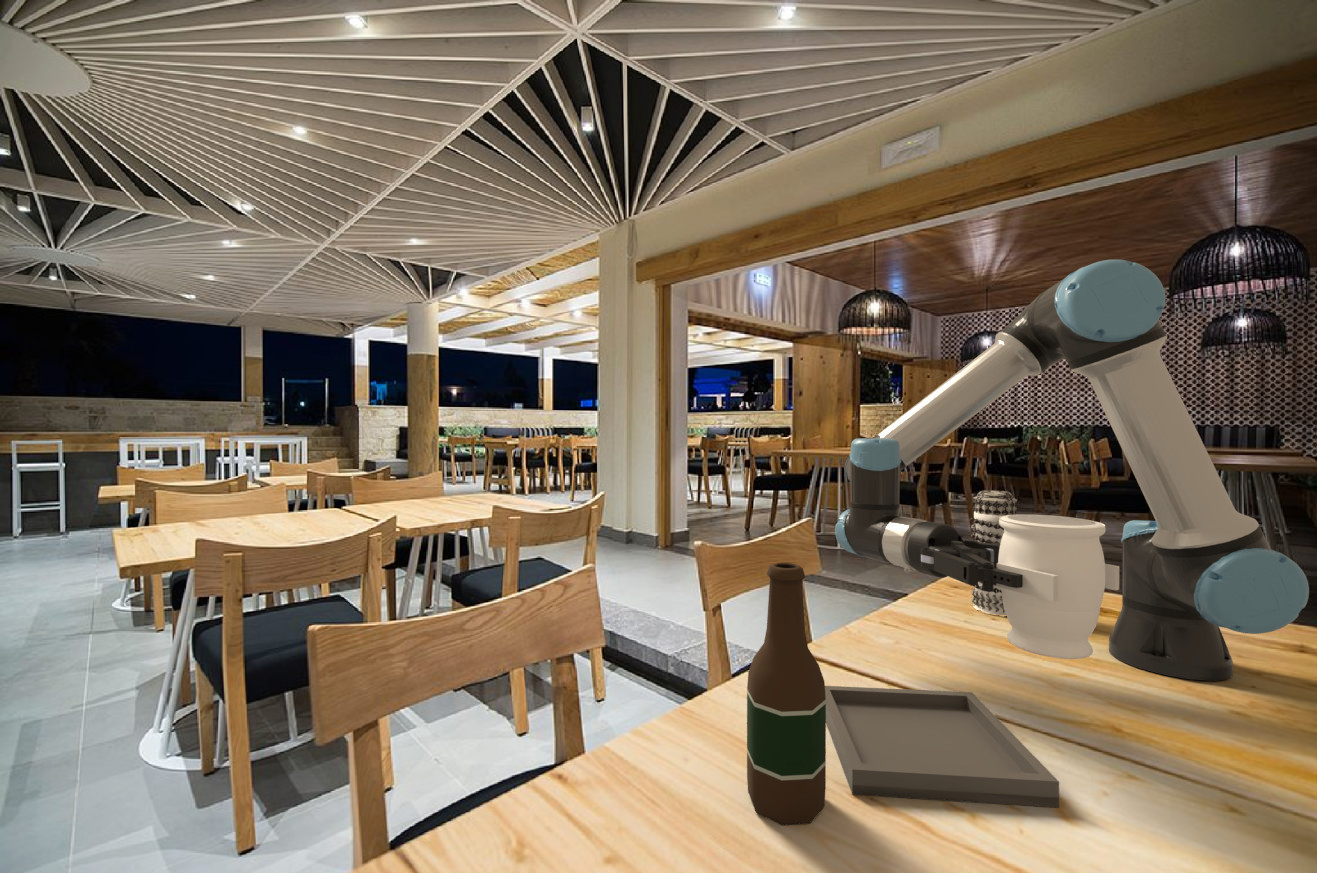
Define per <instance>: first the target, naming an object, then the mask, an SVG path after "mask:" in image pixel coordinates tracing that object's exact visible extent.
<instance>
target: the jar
mask: <svg viewBox="0 0 1317 873" xmlns="http://www.w3.org/2000/svg"><path fill="white" fill-rule="evenodd" d="M999 524H1000V526H1001V527H1002V528H1004V534H1003V536H1002V539H1001V543H1000V549H999V557H998V563H1004V564H1009V565H1013V566H1017V567H1021V568H1026V569H1031V570H1036V571H1040V572H1045V573H1049V574H1054V575H1058V601H1050V600H1046V599H1043V598H1039V597H1035V596H1031V595H1027V594H1023V593H1020V592H1016V591H1012V590H1008V589H1004V588H1001V591H1002V600H1003V606H1004V610H1005V613H1006V616H1007V617H1006V619H1007V620H1008V622H1009V624H1010V625H1011V629H1010V630H1009V631H1008V633H1007V635H1006V638H1007V641H1008V642H1009V643H1010V644H1011V645H1013V646H1015V647H1016V648H1018V649H1021V650H1022V651H1024V652H1029V653H1032V654H1035V655H1037V656H1038V655H1039V656H1043V657H1048V658H1053V659H1054V658H1055V659H1060V660H1061V659H1063V660H1079V659H1085V658H1088V657H1091V656H1092V655H1093V653H1094V649H1093V646H1092V645H1091V643H1090V642H1089V640H1088V639H1089V638H1090V637H1091V636H1092V634H1093V632H1094V630H1095V629H1096V627H1097V624H1098V621H1099V618H1100V617H1099V616H1100V613H1101V606H1102V603H1103V599H1104V594H1105V590H1106V588H1105V564H1106V562H1105V556H1104V551H1103V550H1104V549H1103V547H1102V544H1101V541H1100V537H1102V536H1103V535H1105V533H1106V525H1105V524H1104V523H1102V522H1099V521H1094V520H1090V519H1084V518H1081V517H1080V518H1079V517H1071V516H1063V515H1062V516H1061V515H1051V514H1027V513H1026V514H1023V513H1022V514H1017V515H1006V516H1000V517H999Z"/></svg>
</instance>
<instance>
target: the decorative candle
mask: <svg viewBox="0 0 1317 873" xmlns="http://www.w3.org/2000/svg"><path fill="white" fill-rule="evenodd" d="M973 499H974V500H975V503H974V509H975V510H974V511H973V516H972V517H970V521H972V522H973V524H971V525H970V529H971V531H972V532H971V533H970V536H971V538H973V540H977V541H979V542H980V543H986V542H988V541H992V542H994V543H999V544H1000V543H1001V539H1002V536H1003V534H1004V528H1002V527H1001V526H1000V524H999V517H1000V516H1006V515H1018V514H1017V505H1018V503H1017V501H1018V499H1016V498H1015V497H1014V496H1013V494H1012V493H1011V492H1009V491H1004V490H981V491H979V492H978V493H977V495H976V496H973ZM991 563H993V564H994V562H991ZM973 588H974V589H972V590H971V595H972V598H971V602H972V603H973V604H972V605H975V606H973V607H974V608H975V609H976V610H981V611H982V612H985V613H990V614H996V615H1006V613H1005V610H1004V606H1003V600H1002V591H1001V587H997V586H996V583H994V591H993V592H987V591H983V590H982V583H980V582H978V585H976V586H973Z"/></svg>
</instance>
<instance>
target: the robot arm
mask: <svg viewBox="0 0 1317 873" xmlns="http://www.w3.org/2000/svg"><path fill="white" fill-rule="evenodd" d="M1165 292H1166V291H1165V289H1164V286H1163V283H1162V282H1161V280H1160V279H1159V278H1158V276H1157V275H1156V274H1155V273H1154V272H1153V271H1152V270H1150V269H1149V268H1147V267H1145V266H1144V265H1142V264H1140V263H1138V262H1134V261H1130V260H1125V259H1106V260H1100V261H1096V262H1094V263H1091V264H1089V265H1086V266H1082V267H1080V268H1079V269H1077V270H1075V271H1072V272H1071V273H1069V274H1068V275H1067V276H1066V277H1064V278H1063V279H1061V280H1060V281H1058V282H1056V283H1055V284H1053V285H1052V286H1050V287H1048V288H1047V289H1045V290H1044V291H1042V293H1040V294H1039V295H1038V296H1036V298H1034V300H1032V301H1031V303H1030V304H1028V306H1027V307H1026V308H1024V310H1023V311H1022V312H1020V313H1019V315H1017V316H1016V317H1015V318H1014V319H1013V320H1012V321H1011V322H1010V323H1009V324H1007V325H1006V326H1005V327H1004V328H1003V329H1001V330H1000V331H999V332H997V333H996V334H995V339H994V343H993V344H992V345H991V346H989V347H988V348H987V349H985V350H984V351H983V352H981V353H979V355H978V356H977V357H975V358H974V359H973V360H971V361H970V362H969V363H968V364H966V365H965V366H964V367H963V368H961V369H960V370H958V371H957V372H956V373H954V374H953V375H952V376H950V377H949V378H948V379H947V380H945V381H944V382H943V383H942V384H941V385H939V386H938V387H937V388H935V389H934V390H933V391H931V392H930V393H929V394H928V395H926V396H925V397H924V398H922V399H921V400H920V401H919V402H917V403H915V405H914V406H912V407H911V408H909V409H908V410H907V411H906V412H905V413H903V414H902V415H901V416H899V417H898V418H897V419H896V420H894V421H892V422H891V423H890V424H889V425H887V426H886V427H885V428H884V429H883V430H882V431H880V432H879V433H877V435H875V436H874V437H872V438H855V439H853V440H852V441H851V444H850V454H849V455H848V457H847V459H846V461H845V463H844V464H845V465H844V472H845V475H846V477H847V479H848V481H849V488H850V493H849V494H850V500H849V508H848V509H846V510H845V511H843V512H842V513H841V514H840V515H839V517H838V520H837V523H836V524H835V528H834V534H835V538H836V541H837V543H838V544H839V546H840V547H841V548H842V549H843V550H845V551H846V552H849V553H852V554H854V555H856V556H858V557H862V558H863V559H868V560H873V561H878V562H881V563H886V564H889V565H892V566H893V565H894V566H896V567H901V568H903V570H904V572H906V573H910V572H911V571H917V572H918V573H922V574H925V575H928V576H933V577H935V578H940V579H941V578H943V579H944V578H948V577H949V578H951V579H954V580H956V581H959V582H961V583H963V584H966V585H969V586H970V587H974V586H976V585H978V582H980V583H982V590H983V591H987V592H993V591H994V583H996V586H997V587H1001V588H1004V589H1008V590H1012V591H1016V592H1020V593H1023V594H1027V595H1031V596H1035V597H1039V598H1043V599H1046V600H1050V601H1058V575H1054V574H1049V573H1045V572H1040V571H1036V570H1031V569H1026V568H1021V567H1017V566H1013V565H1009V564H1004V563H998V557H999V549H1000V544H999V543H994V542H992V541H988V542H986V543H980V542H979V541H977V540H975V539H964V540H963V537H962V535H961V534H960V532H959V531H958V530H957V529H956V528H955V527H954V526H952V525H951V524H946V523H940V522H934V521H931V520H930V521H929V520H928V521H927V520H925V519H920V518H915V517H913V518H912V517H908V516H900V507H901V506H900V490H901V489H900V481H901V472H902V471H903V469H905V468H906V467H908V465H910V464H911V463H913V462H914V461H915V460H917V459H918V458H919V457H921V456H922V455H923V454H925V453H926V452H927V451H929V450H930V449H931V448H933V447H934V446H935V445H937V444H938V443H939V442H941V441H942V440H943V439H945V438H946V437H947V436H949V435H950V434H952V433H953V432H954V431H956V430H957V429H958V428H960V427H961V426H963V424H965V423H966V422H968V421H969V420H971V419H972V418H973V417H974V416H975V415H977V414H978V413H979V412H981V411H983V409H986V407H987V406H989V405H990V404H991V403H993V402H994V401H995V400H996V399H999V398H1000V396H1002V395H1003V394H1005V393H1006V392H1008V391H1009V390H1010V389H1011V388H1013V387H1014V386H1015V385H1017V384H1018V383H1020V382H1021V381H1022V380H1024V379H1026V377H1029V376H1035V377H1037V376H1039V375H1041V373H1043V372H1045V371H1046V370H1048V369H1049V368H1050V367H1052V366H1053V365H1055V364H1057V363H1058V362H1060V361H1064V360H1066V362H1067V364H1068V366H1069V369H1070V371H1071V372H1072V373H1076V374H1079V375H1082V376H1084V377H1086V378H1088V380H1089V383H1090V384H1091V386H1092V389H1093V391H1094V393H1095V395H1096V397H1097V400H1098V401H1099V403H1100V405H1101V407H1102V410H1103V412H1104V414H1105V416H1106V419H1107V420H1108V422H1109V425H1110V426H1111V428H1112V431H1113V432H1114V435H1115V438H1116V439H1117V441H1118V443H1119V446H1120V448H1121V450H1122V452H1123V453H1124V456H1125V459H1126V461H1127V462H1128V464H1129V467H1130V469H1131V471H1132V473H1133V475H1134V477H1135V479H1136V481H1137V484H1138V486H1139V487H1140V490H1141V492H1142V494H1143V496H1144V499H1145V501H1146V503H1147V505H1148V507H1149V509H1150V511H1151V513H1152V515H1153V518H1154V519H1155V520H1138V519H1137V520H1129V521H1127V522H1126V523H1125V524H1124V525H1123V527H1122V528H1123V529H1122V530H1123V531H1122V538H1121V539H1120V543H1121V549H1122V550H1121V552H1122V554H1121V555H1122V556H1121V561H1122V562H1121V565H1122V566H1121V568H1122V569H1121V570H1122V571H1121V573H1122V574H1121V576H1122V579H1121V581H1122V584H1121V585H1122V590H1121V591H1122V594H1121V595H1122V600H1121V601H1122V603H1121V605H1122V606H1121V610H1120V612H1119V615H1118V617H1117V619H1116V621H1115V624H1114V626H1113V628H1112V631H1111V634H1110V635H1109V639H1108V652H1109V654H1110V655H1111V656H1113V657H1114V658H1115V659H1117V660H1119V661H1121V662H1123V663H1125V664H1128V665H1130V666H1133V667H1135V668H1138V669H1141V670H1144V671H1147V672H1149V671H1150V672H1152V673H1155V674H1159V675H1164V676H1170V677H1173V678H1179V679H1186V680H1194V681H1207V682H1208V681H1210V682H1211V681H1215V682H1217V681H1224V680H1229V679H1230V678H1232V677H1233V676H1232V675H1234V673H1233V672H1234V670H1233V669H1234V668H1233V667H1234V664H1233V662H1234V661H1233V657H1232V655H1231V654H1230V651H1229V648H1228V645H1227V643H1226V640H1225V638H1224V636H1223V633H1222V631H1221V628H1223V629H1228V630H1230V631H1233V632H1237V633H1242V634H1250V635H1251V634H1252V635H1253V634H1254V635H1257V634H1258V635H1259V634H1266V633H1267V634H1268V633H1271V632H1275V631H1277V630H1278V631H1279V630H1281V629H1283V628H1285V627H1286V626H1289V624H1291V623H1292V622H1294V621H1295V620H1296V619H1297V618H1298V617H1299V614H1300V613H1301V611H1302V609H1304V608H1306V605H1307V604H1308V602H1309V601H1308V600H1309V596H1310V585H1309V581H1308V579H1307V575H1306V574H1305V573H1304V571H1303V570H1302V568H1301V567H1300V566H1299V565H1298V564H1297V563H1296V562H1295V561H1294V560H1292V559H1291V558H1289V557H1288V556H1287V555H1285V554H1283V553H1282V552H1279V551H1276V550H1274V549H1272V548H1271V546H1270V543H1269V542H1268V540H1267V538H1266V536H1265V534H1264V532H1263V530H1262V528H1261V526H1260V524H1259V522H1258V521H1257V519H1255V518H1254V517H1251V516H1248V515H1246V514H1243V513H1240V512H1239V511H1237V510H1236V509H1235V506H1234V504H1233V502H1232V500H1231V499H1230V496H1229V494H1228V492H1227V490H1226V488H1225V486H1224V483H1223V481H1222V480H1221V477H1220V476H1219V474H1218V473H1219V472H1218V471H1217V468H1216V467H1215V465H1214V463H1213V461H1212V458H1211V457H1210V455H1209V453H1208V450H1207V449H1206V446H1205V444H1204V443H1203V441H1202V438H1201V436H1200V434H1199V432H1198V430H1197V428H1196V426H1195V423H1194V422H1193V419H1192V418H1191V416H1190V414H1189V411H1188V409H1187V407H1186V405H1185V403H1184V402H1183V399H1182V398H1181V397H1182V396H1181V395H1180V393H1179V391H1178V389H1177V387H1176V385H1175V383H1174V381H1173V379H1172V376H1171V374H1170V373H1169V371H1168V369H1167V366H1166V365H1165V362H1164V361H1163V358H1162V356H1161V349H1162V348H1163V346H1164V344H1165V342H1166V340H1167V338H1168V335H1167V334H1166V331H1165V329H1164V328H1163V327H1164V326H1162V323H1161V321H1160V318H1161V317H1162V313H1163V310H1164V308H1165V306H1166V301H1167V300H1166V293H1165ZM991 562H994V564H993V563H991ZM1105 589H1107V590H1113V591H1119V590H1120V565H1114V564H1110V563H1109V564H1108V563H1105ZM1231 676H1232V677H1231Z"/></svg>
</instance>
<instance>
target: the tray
mask: <svg viewBox="0 0 1317 873" xmlns="http://www.w3.org/2000/svg"><path fill="white" fill-rule="evenodd" d="M825 696H826V728H827V731H828V732H829V736H830V738H831V740H832V743H833V746H834V749H835V751H836V754H837V757H838V759H839V762H840V765H841V768H842V771H843V773H844V776H845V779H846V781H847V784H848V787H849V789H850V790H849V791H850V792H851V795H853V796H871V797H886V798H898V799H899V798H900V799H901V798H903V799H917V800H932V801H949V802H963V803H964V802H966V803H981V804H994V805H995V804H996V805H997V804H998V805H1012V806H1013V805H1014V806H1026V807H1029V806H1030V807H1042V808H1043V807H1044V808H1060V781H1059V780H1058V779H1057V778H1056V777H1055V776H1054V775H1053V774H1052V773H1051V772H1050V771H1049V769H1048V768H1046V767H1045V766H1044V764H1042V763H1041V761H1040V760H1039V759H1038V758H1037V757H1036V756H1035V755H1034V754H1033V753H1032V752H1031V750H1029V749H1028V748H1027V747H1026V746H1025V745H1024V744H1023V743H1022V742H1021V741H1020V740H1019V738H1017V737H1016V736H1015V735H1014V734H1013V732H1011V730H1009V729H1008V728H1007V727H1006V725H1004V723H1003V722H1002V721H1000V719H999V718H998V717H997V716H996V715H995V714H993V712H992V711H991V710H990V709H989V708H988V707H987V706H986V705H985V704H984V703H983V702H982V701H981V700H980V699H979V698H978V697H977V696H976V695H975V694H974V693H973V692H972V691H954V690H953V691H952V690H929V689H928V690H926V689H908V688H903V689H902V688H883V687H881V688H880V687H861V686H860V687H859V686H841V685H840V686H839V685H825Z"/></svg>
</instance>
